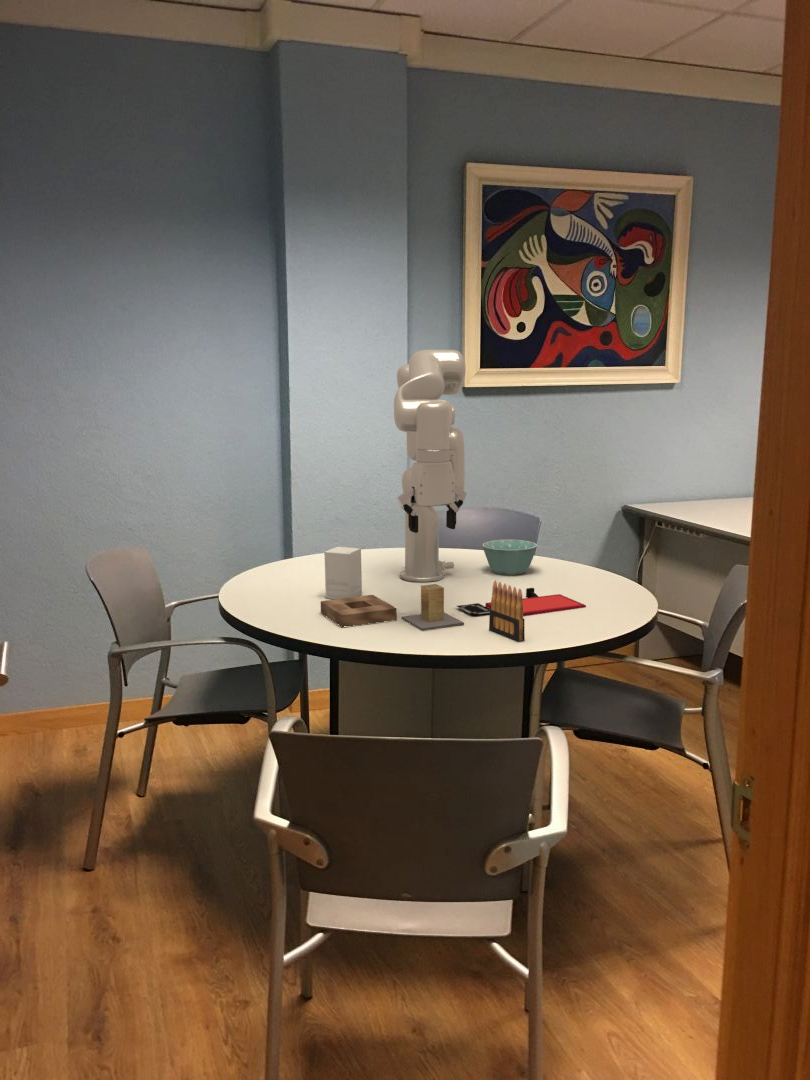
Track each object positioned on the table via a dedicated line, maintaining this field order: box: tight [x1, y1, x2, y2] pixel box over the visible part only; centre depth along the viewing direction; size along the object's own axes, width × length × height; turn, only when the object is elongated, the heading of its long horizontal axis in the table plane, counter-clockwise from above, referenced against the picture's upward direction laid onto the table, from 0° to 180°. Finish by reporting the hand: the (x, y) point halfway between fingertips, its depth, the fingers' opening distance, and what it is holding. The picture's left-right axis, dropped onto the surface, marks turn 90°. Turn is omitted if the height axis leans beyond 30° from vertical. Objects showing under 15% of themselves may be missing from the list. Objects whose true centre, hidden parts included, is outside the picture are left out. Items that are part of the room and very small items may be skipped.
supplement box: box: [323, 546, 363, 600], centre depth 241 cm, size 7×7×13 cm
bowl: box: [481, 539, 538, 576], centre depth 269 cm, size 16×16×8 cm
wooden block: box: [420, 583, 445, 622], centre depth 218 cm, size 4×4×8 cm
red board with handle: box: [456, 587, 587, 617], centre depth 232 cm, size 30×3×15 cm
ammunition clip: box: [488, 580, 525, 643], centre depth 207 cm, size 11×2×12 cm, turn 32°
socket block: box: [320, 594, 398, 628], centre depth 224 cm, size 14×14×3 cm
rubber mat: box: [400, 611, 465, 632], centre depth 219 cm, size 11×11×1 cm
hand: (432, 530), depth 215 cm, fingers open, 9 cm apart
